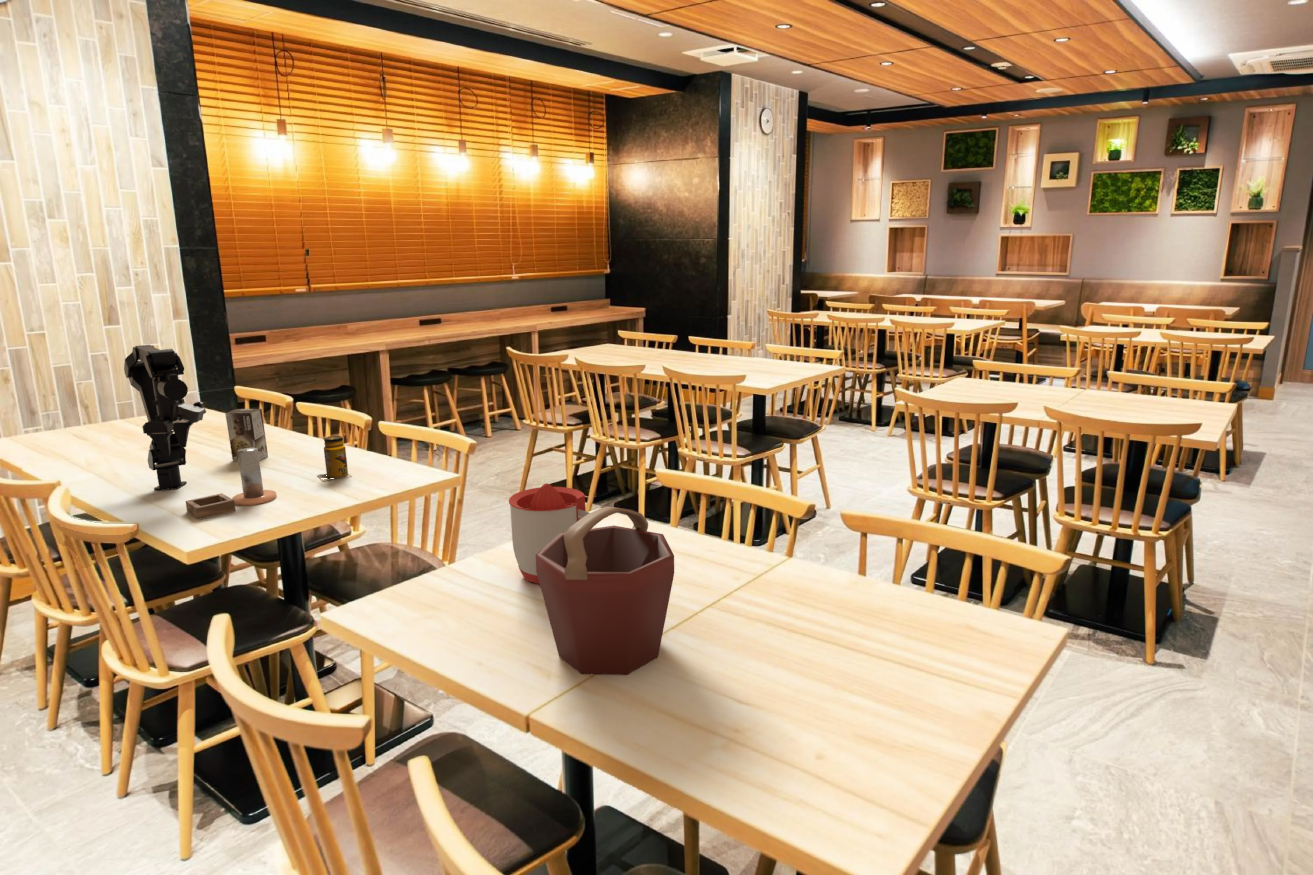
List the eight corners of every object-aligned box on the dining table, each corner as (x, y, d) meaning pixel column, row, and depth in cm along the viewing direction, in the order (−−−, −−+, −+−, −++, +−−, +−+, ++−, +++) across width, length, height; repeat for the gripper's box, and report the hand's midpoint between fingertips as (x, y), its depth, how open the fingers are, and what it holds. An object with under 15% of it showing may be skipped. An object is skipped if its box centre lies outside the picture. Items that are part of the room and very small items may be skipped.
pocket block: (187, 511, 218) (185, 501, 217) (223, 503, 224) (221, 493, 224) (198, 519, 212) (197, 508, 211) (235, 510, 218) (234, 500, 217)
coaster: (242, 493, 233) (241, 490, 233) (282, 492, 234) (282, 489, 233) (225, 506, 222) (225, 502, 222) (267, 504, 223) (267, 501, 223)
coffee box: (269, 456, 273) (262, 408, 269) (258, 461, 267) (251, 412, 263) (243, 456, 274) (236, 408, 270) (231, 461, 268) (224, 412, 264)
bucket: (600, 703, 126) (594, 548, 120) (508, 657, 140) (499, 517, 134) (701, 644, 143) (700, 506, 137) (610, 608, 158) (606, 482, 152)
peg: (243, 494, 229) (237, 449, 226) (263, 491, 231) (257, 446, 228) (243, 499, 224) (237, 453, 221) (264, 496, 227) (257, 450, 223)
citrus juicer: (585, 592, 165) (581, 496, 160) (502, 587, 168) (496, 493, 163) (603, 562, 180) (600, 474, 175) (527, 558, 183) (522, 471, 178)
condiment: (352, 476, 248) (347, 438, 245) (322, 481, 244) (317, 442, 241) (346, 471, 254) (341, 433, 251) (317, 476, 250) (312, 437, 247)
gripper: (181, 401, 216) (190, 459, 220) (212, 388, 234) (220, 442, 238) (137, 402, 216) (146, 460, 219) (172, 390, 234) (180, 443, 237)
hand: (175, 451), depth 229 cm, fingers open, 9 cm apart
